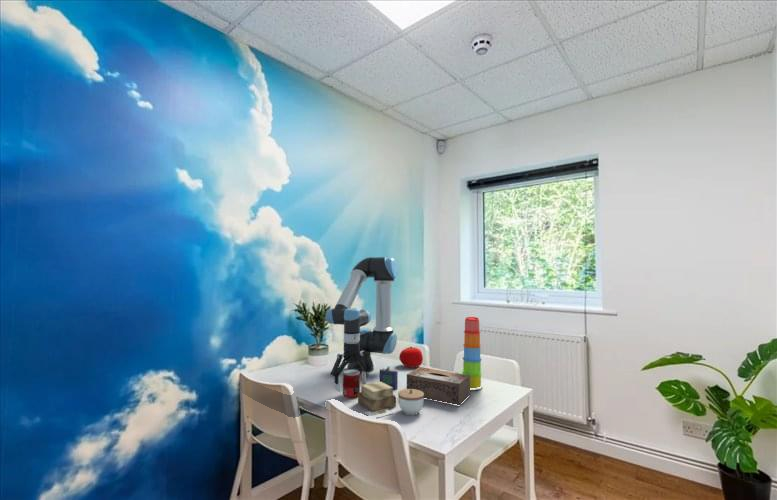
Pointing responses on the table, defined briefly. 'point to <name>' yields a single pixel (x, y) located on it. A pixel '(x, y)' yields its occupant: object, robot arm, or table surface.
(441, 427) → the table surface
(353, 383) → the canned food
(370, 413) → the page
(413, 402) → the lidded jar
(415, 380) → the tissue box cover
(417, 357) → the tomato
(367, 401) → the folded towel stack
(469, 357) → the stacking cups
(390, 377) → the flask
